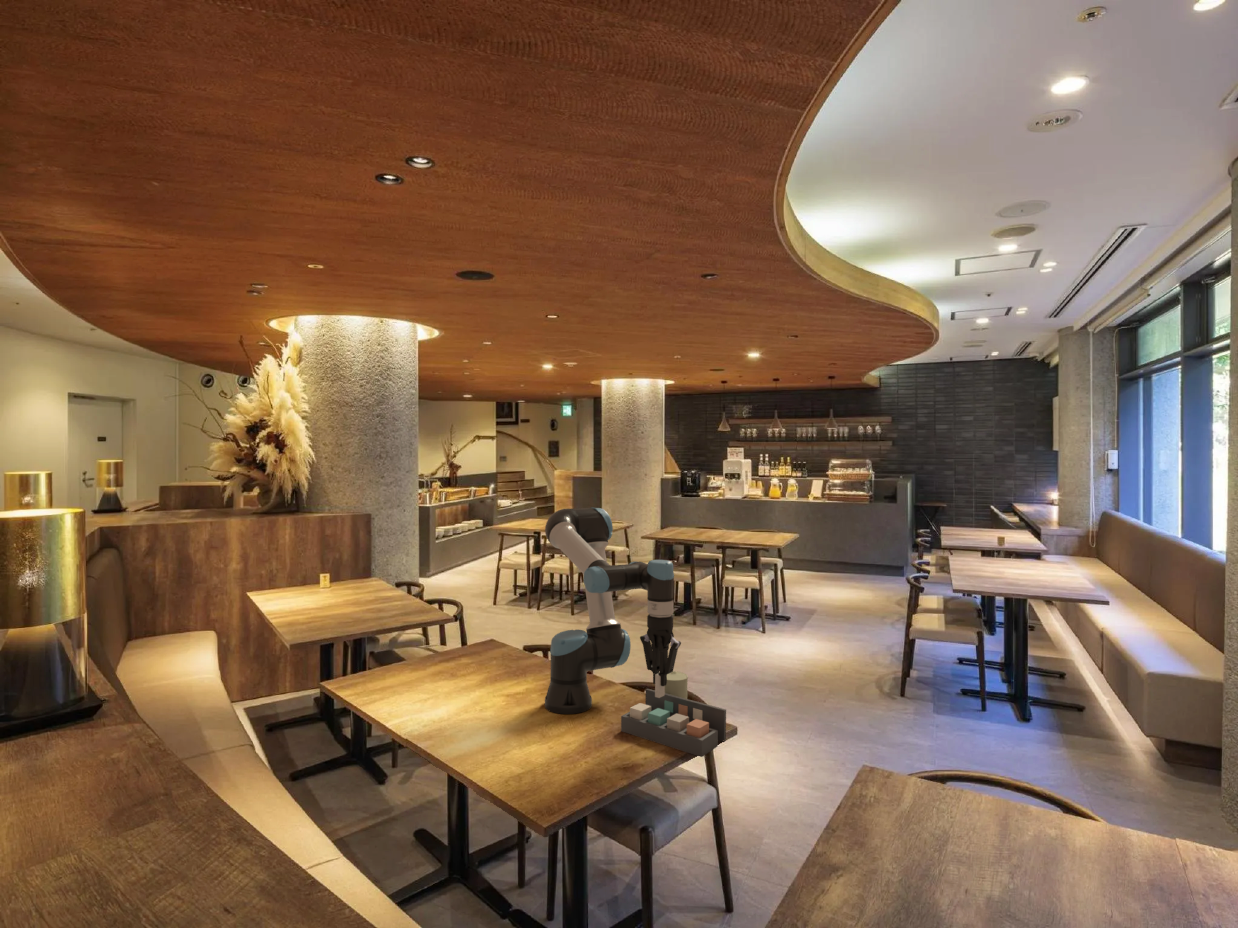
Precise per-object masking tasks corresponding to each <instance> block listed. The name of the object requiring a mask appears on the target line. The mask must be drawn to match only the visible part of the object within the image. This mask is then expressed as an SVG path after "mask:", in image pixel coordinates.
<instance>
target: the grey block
mask: <svg viewBox="0 0 1238 928" xmlns="http://www.w3.org/2000/svg"><path fill="white" fill-rule="evenodd" d="M688 723H689V717H688V716H684V715H681V714H677V713H676V714H674V715H673V716H671V717H669V718H667V728H668V729H672V730H675V731H678V732H681V731H683V730H684V729H686V728H687V724H688Z"/></svg>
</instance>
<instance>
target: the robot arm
mask: <svg viewBox="0 0 1238 928" xmlns="http://www.w3.org/2000/svg"><path fill="white" fill-rule="evenodd" d="M545 523H546V524H545V528H544V532H545V537H546V540H547V541H548V542H549V543H550V544H551V545H552V547H554V548H555V549H559V550H560V551H561V552H562V553H563V554H564V555H565V556H566V557H567V558H568V560H570V562H571V563H572V564H573V565H574V566H575V567H576V568H577V569H578V570H579V571H580V572H581V573H582V575H583V584H584V590H585V596H586V605H587V611H588V618H589V624H588V626H587V627H586V630H583V629H568V630H563V631H561V632H558V633H556V634H555V635H554V636H553V637H552V638H551V641H550V650H549V652H550V653H549V654H550V682H549V685H548V687H547V688H548V689H547V692H546V695H545V698H544V708H545V709H546V710H547V711H549V712H551V713H555V714H560V715H573V714H574V715H576V714H581V713H584V712H587V711H589V710H590V709H591V708H592V705H593V698H592V695H591V694H590V688H589V685H588V681H587V680H588V679H587V678H588V677H587V674H588V672H591V671H596V670H603V669H608V668H615V667H619V666H622V665H624V664H625V663H626V662H627V661H628V659H629V657H630V653H631V648H632V647H631V637H630V635H629V633H628V631H627V630H625V629H623V628H622V625H621V623H620V621H618V620H617V619H616V615H615V614H616V613H615V609H614V601H613V595H612V592H620V591H628V590H630V591H631V590H632V591H633V590H645V591H647V595H646V596H647V610H646V611H647V616H646V617H647V618H646V619H647V620H646V621H647V622H646V625H647V631H646V633H645V634H644V635H641V636H639V640H640V642H641V644H642V648H643V653H644V660H645V664H646V669H647V670H648V671H650V672H651V673H652V683H653V685H654V690H655V697H657V698H660V697H662V696H664V695H665V685H666V684H667V674H669V673H671V672H673V671H674V668H675V663H676V658H677V654H678V650H679V648H680V646H681V644H682V642H681V641H680V640H677V639H676V638H675V634H674V632H673V630H674V616H673V614H674V592H675V591H674V587H675V586H674V582H675V573H674V564H673V562H672V561H670V560H667V559H653V560H649V561H648V562H647V563H645V562H643V561H631V562H629V563H625V564H613V565H610V564H609V563H608V562H607V556H606V549H607V547H608V545H609V540H611V538H612V536H613V529H614V527H613V526H614V525H613V522H612V518H611V516H610V515H609V512H608V511H606V510H605V509H604V508H600V507H592V506H591V507H581V508H579V507H578V508H561V509H558V510H556V511H555V512H553V513H552V514H551V515H550V516H549V517H548V519H547V521H546V522H545Z"/></svg>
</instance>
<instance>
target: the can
mask: <svg viewBox="0 0 1238 928" xmlns="http://www.w3.org/2000/svg"><path fill="white" fill-rule="evenodd" d="M688 678H689V676H688V674H687V673H685V672H681V671H676V670H675V671H674V670H673V672H671V673H669V674H667V684H666V685H665V693H666V694H670V695H674V696H677V697H681V698H685V699H688V681H689V679H688Z"/></svg>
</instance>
